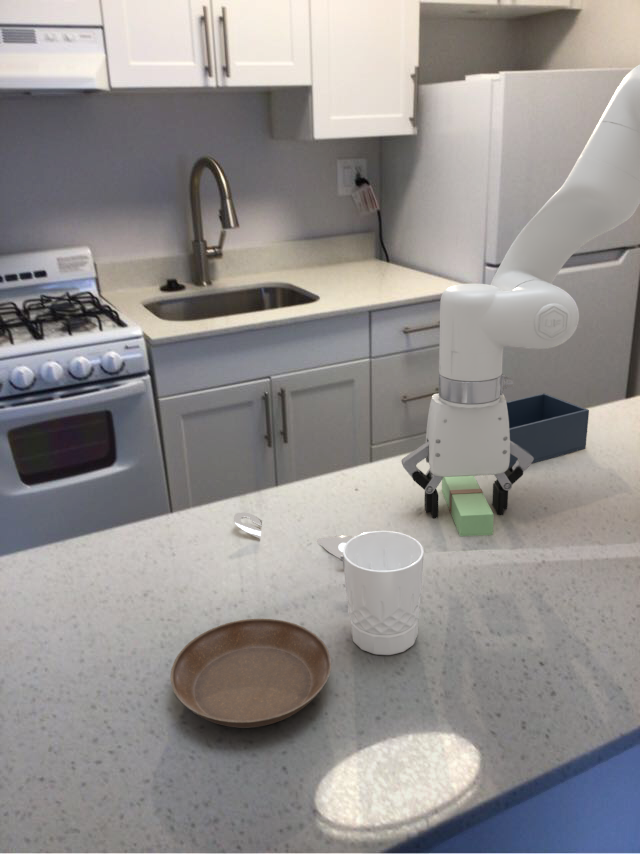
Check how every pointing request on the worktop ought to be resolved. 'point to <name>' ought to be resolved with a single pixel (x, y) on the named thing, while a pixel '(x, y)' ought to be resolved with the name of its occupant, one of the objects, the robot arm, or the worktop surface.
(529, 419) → the bin
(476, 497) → the light green rectangular block
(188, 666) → the saucer
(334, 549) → the ceramic shards
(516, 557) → the worktop surface
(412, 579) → the white cup
